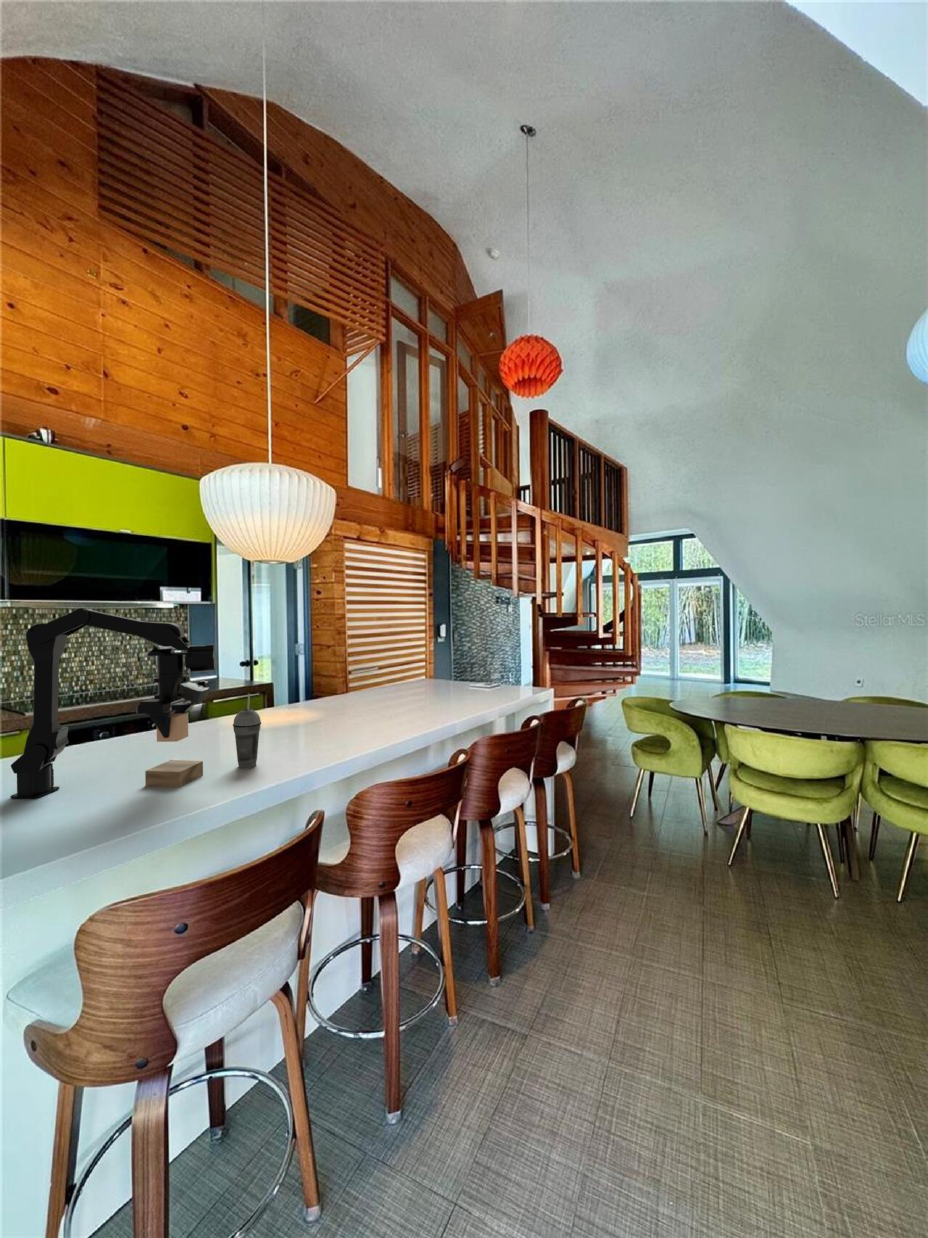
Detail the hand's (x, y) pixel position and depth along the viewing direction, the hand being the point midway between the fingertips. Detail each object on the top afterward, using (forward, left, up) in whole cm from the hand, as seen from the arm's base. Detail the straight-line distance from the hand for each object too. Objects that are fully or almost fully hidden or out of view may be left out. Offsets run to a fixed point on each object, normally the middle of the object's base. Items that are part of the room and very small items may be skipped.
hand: (172, 735), depth 128 cm
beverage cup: (+12, -13, -12) cm, 21 cm away
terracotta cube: (0, 0, -1) cm, 1 cm away
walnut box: (0, 0, -12) cm, 12 cm away
